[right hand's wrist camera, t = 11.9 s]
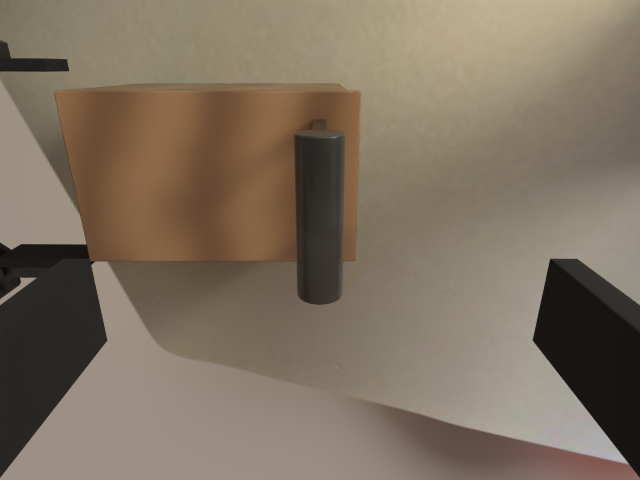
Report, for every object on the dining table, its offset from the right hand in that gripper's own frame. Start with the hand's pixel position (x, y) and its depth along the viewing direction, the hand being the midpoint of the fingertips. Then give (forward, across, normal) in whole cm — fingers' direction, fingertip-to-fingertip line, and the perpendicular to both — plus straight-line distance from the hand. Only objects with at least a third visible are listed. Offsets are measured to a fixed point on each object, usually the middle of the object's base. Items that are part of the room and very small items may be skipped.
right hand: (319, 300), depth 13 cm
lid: (+15, -6, 0) cm, 16 cm away
